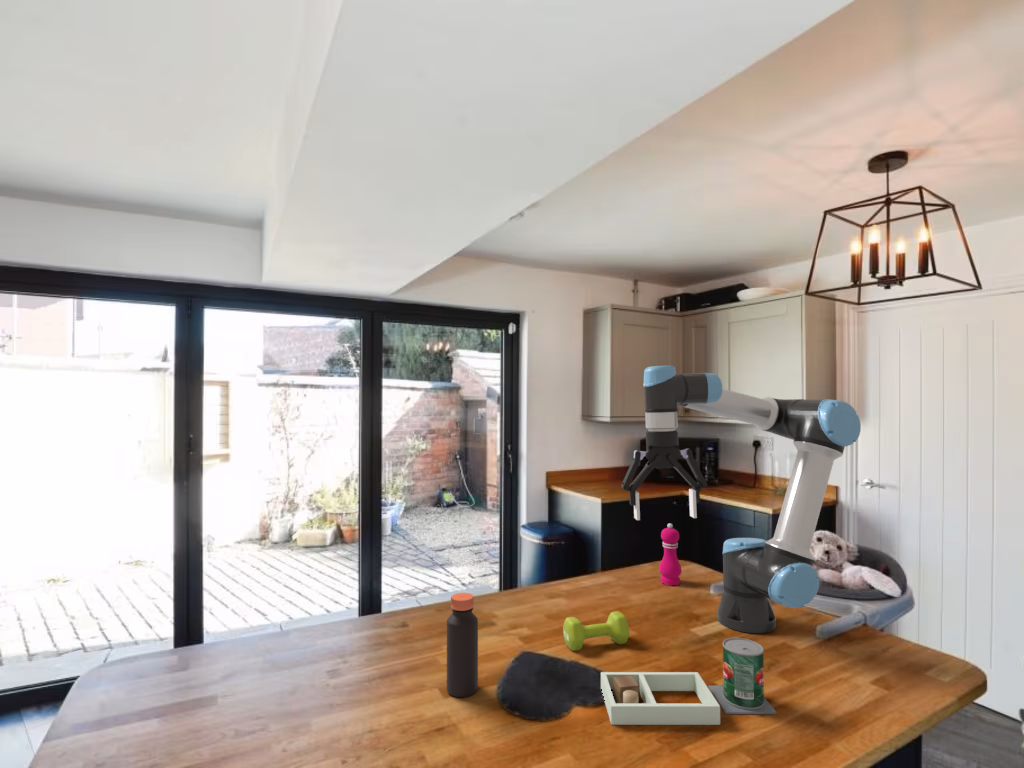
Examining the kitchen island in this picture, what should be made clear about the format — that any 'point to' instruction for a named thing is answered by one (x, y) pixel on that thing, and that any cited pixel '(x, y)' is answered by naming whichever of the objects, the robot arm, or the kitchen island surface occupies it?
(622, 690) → the walnut block
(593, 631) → the dumbbell
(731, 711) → the slate coaster
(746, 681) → the canned tomato
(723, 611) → the robot arm
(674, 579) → the pepper mill
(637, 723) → the caddy
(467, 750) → the kitchen island surface
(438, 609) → the kitchen island surface
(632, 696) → the beech dowel
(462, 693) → the bottle
